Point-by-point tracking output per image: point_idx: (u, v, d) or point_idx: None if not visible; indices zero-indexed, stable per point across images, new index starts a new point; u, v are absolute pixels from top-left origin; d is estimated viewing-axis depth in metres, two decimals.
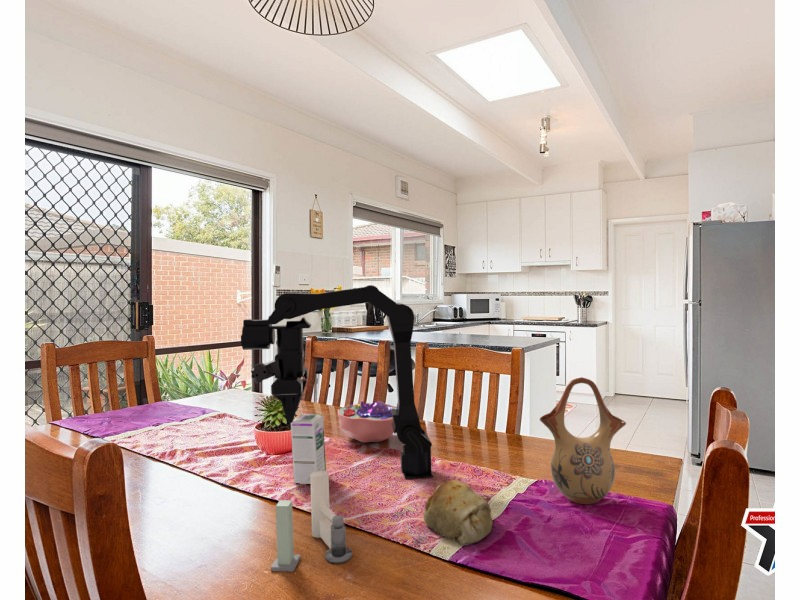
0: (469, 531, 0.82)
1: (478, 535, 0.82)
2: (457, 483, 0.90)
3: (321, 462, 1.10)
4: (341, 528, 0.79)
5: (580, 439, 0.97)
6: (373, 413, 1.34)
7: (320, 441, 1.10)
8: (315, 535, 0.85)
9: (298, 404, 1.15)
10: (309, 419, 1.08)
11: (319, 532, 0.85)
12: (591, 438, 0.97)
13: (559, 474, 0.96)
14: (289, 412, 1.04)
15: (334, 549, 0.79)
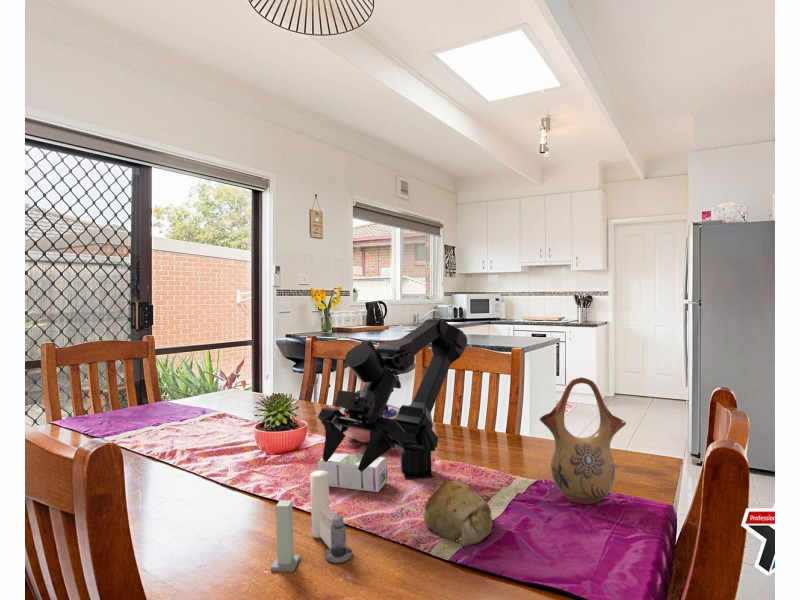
0: (469, 531, 0.82)
1: (478, 536, 0.82)
2: (457, 484, 0.90)
3: None
4: (341, 528, 0.79)
5: (580, 439, 0.97)
6: None
7: None
8: (315, 535, 0.85)
9: (331, 455, 0.96)
10: (380, 484, 1.04)
11: (319, 532, 0.85)
12: (591, 438, 0.97)
13: (559, 474, 0.96)
14: (369, 459, 0.90)
15: (334, 549, 0.79)
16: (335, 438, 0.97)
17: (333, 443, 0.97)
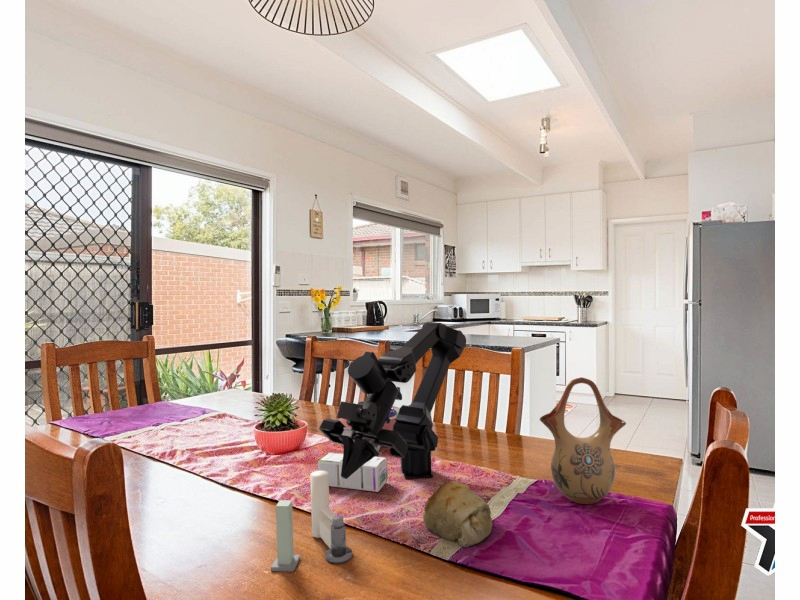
0: (469, 532, 0.82)
1: (478, 536, 0.82)
2: (457, 484, 0.90)
3: None
4: (341, 528, 0.79)
5: (580, 439, 0.97)
6: None
7: None
8: (315, 535, 0.85)
9: None
10: (380, 484, 1.04)
11: (319, 532, 0.85)
12: (591, 438, 0.97)
13: (559, 474, 0.96)
14: (354, 466, 0.92)
15: (334, 549, 0.79)
16: None
17: None
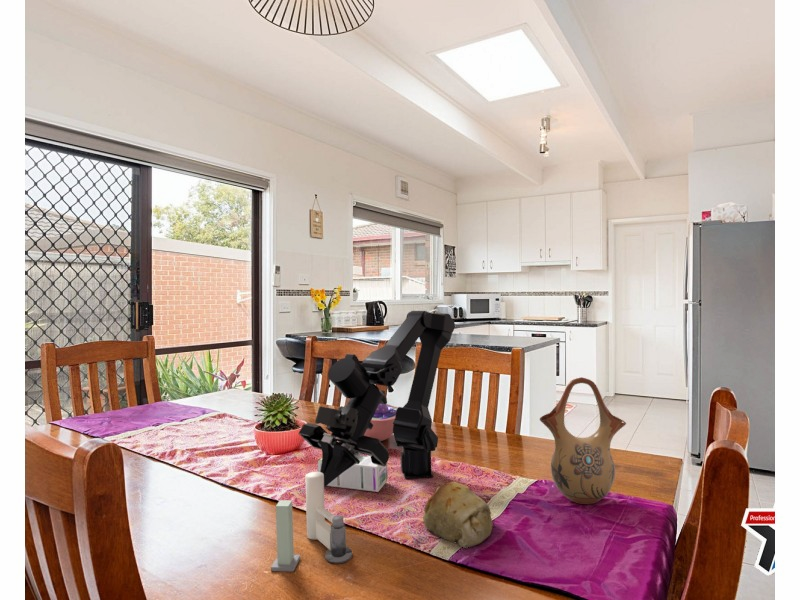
0: (469, 533, 0.81)
1: (478, 537, 0.81)
2: (457, 485, 0.90)
3: None
4: (341, 528, 0.79)
5: (580, 439, 0.97)
6: None
7: None
8: (311, 537, 0.85)
9: None
10: (380, 484, 1.04)
11: (315, 534, 0.84)
12: (591, 438, 0.97)
13: (559, 474, 0.96)
14: (332, 474, 0.88)
15: (334, 549, 0.79)
16: None
17: None
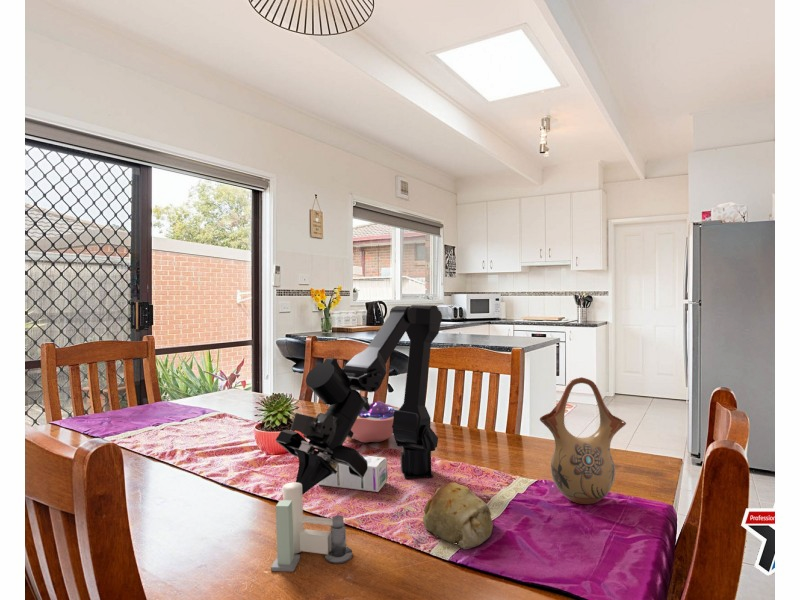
0: (470, 534, 0.81)
1: (479, 538, 0.81)
2: (457, 486, 0.89)
3: None
4: (341, 528, 0.79)
5: (580, 439, 0.97)
6: (373, 413, 1.34)
7: None
8: (295, 551, 0.80)
9: None
10: (380, 484, 1.04)
11: (299, 546, 0.81)
12: (591, 438, 0.97)
13: (559, 474, 0.96)
14: (307, 485, 0.84)
15: (334, 549, 0.79)
16: None
17: None
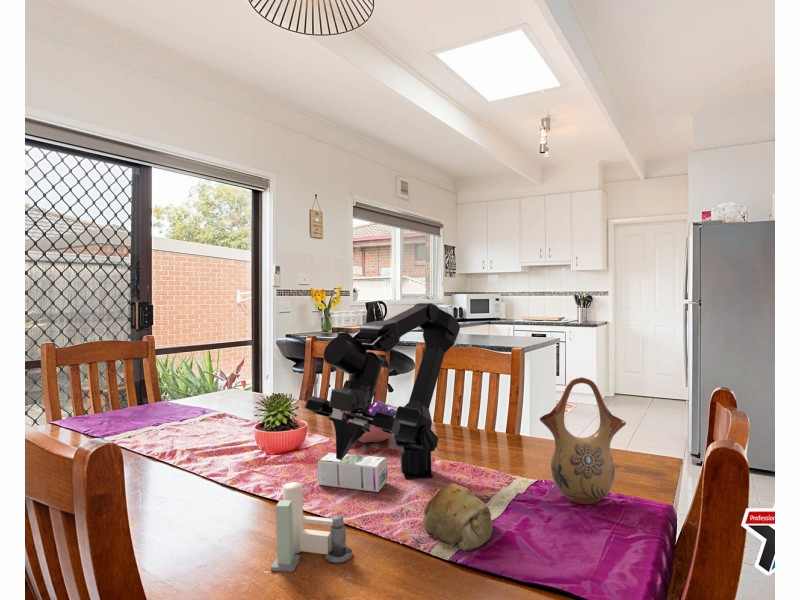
0: (470, 536, 0.80)
1: (479, 540, 0.81)
2: (456, 487, 0.89)
3: None
4: (341, 528, 0.79)
5: (580, 439, 0.97)
6: (373, 413, 1.34)
7: None
8: (295, 551, 0.80)
9: None
10: (380, 484, 1.04)
11: (299, 546, 0.81)
12: (591, 438, 0.97)
13: (559, 474, 0.96)
14: (348, 447, 0.94)
15: (334, 549, 0.79)
16: (345, 433, 0.95)
17: (344, 439, 0.95)
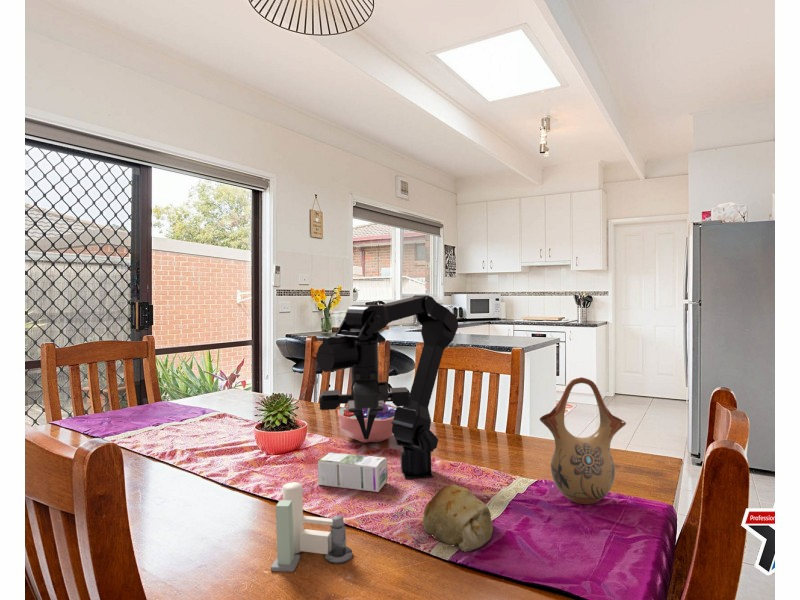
0: (470, 537, 0.80)
1: (479, 541, 0.80)
2: (456, 488, 0.88)
3: None
4: (341, 528, 0.79)
5: (580, 439, 0.97)
6: None
7: None
8: (295, 551, 0.80)
9: None
10: (380, 484, 1.04)
11: (299, 546, 0.81)
12: (591, 438, 0.97)
13: (559, 474, 0.96)
14: None
15: (334, 549, 0.79)
16: (363, 415, 1.02)
17: None
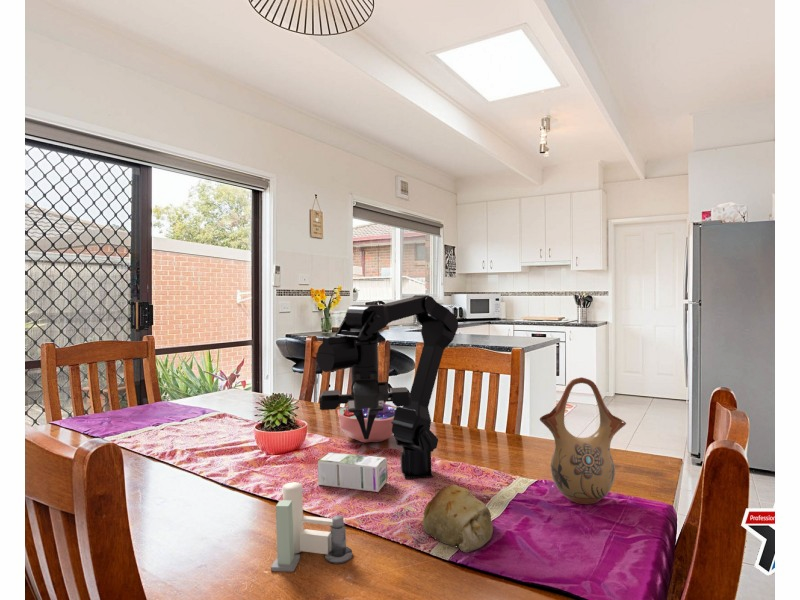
0: (470, 537, 0.80)
1: (479, 541, 0.80)
2: (456, 488, 0.88)
3: None
4: (341, 528, 0.79)
5: (580, 439, 0.97)
6: None
7: None
8: (295, 551, 0.80)
9: None
10: (380, 484, 1.04)
11: (299, 546, 0.81)
12: (591, 438, 0.97)
13: (559, 474, 0.96)
14: None
15: (334, 549, 0.79)
16: (363, 415, 1.02)
17: None
